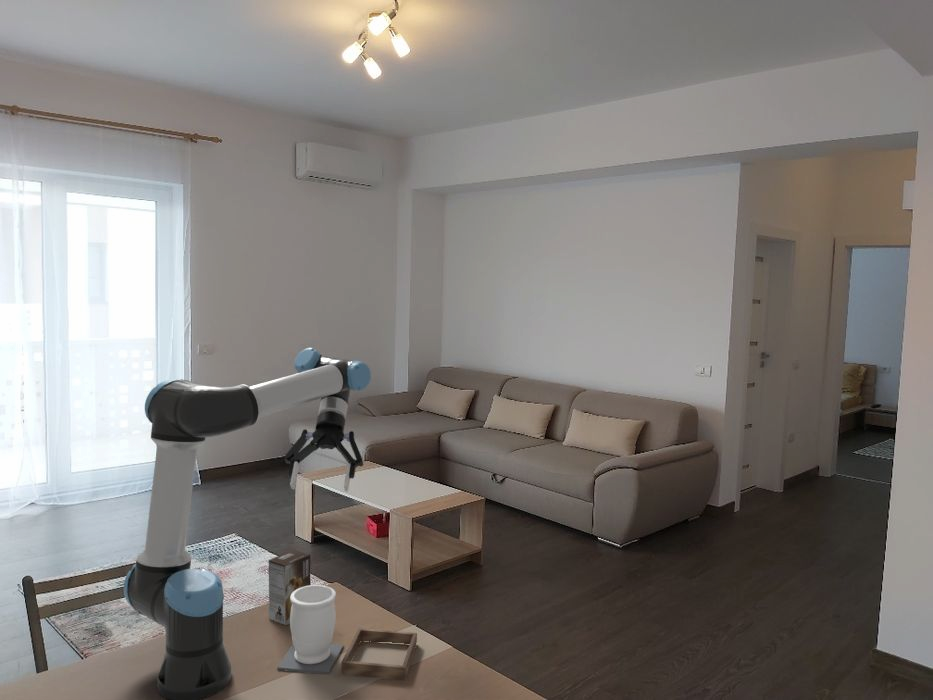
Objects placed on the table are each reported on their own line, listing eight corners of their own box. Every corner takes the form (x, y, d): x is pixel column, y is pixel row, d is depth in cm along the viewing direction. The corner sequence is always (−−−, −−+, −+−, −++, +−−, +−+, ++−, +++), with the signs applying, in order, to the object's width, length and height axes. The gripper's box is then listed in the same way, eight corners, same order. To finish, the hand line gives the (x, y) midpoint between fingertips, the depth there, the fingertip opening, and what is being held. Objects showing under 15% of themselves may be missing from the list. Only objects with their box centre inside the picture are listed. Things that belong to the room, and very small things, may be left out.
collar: (341, 675, 158) (341, 662, 158) (358, 639, 174) (358, 628, 174) (405, 680, 157) (405, 667, 157) (416, 644, 173) (416, 633, 172)
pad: (277, 669, 160) (277, 667, 160) (295, 642, 172) (295, 640, 171) (329, 674, 159) (329, 671, 158) (343, 646, 170) (343, 644, 170)
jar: (324, 670, 159) (325, 607, 157) (281, 664, 161) (282, 601, 159) (341, 646, 169) (342, 587, 168) (301, 641, 171) (302, 581, 170)
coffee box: (293, 605, 191) (294, 548, 189) (311, 612, 187) (311, 554, 186) (267, 619, 183) (268, 559, 181) (285, 626, 179) (285, 565, 178)
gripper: (378, 426, 194) (369, 496, 181) (288, 423, 195) (272, 493, 181) (376, 411, 189) (366, 482, 175) (283, 408, 189) (266, 478, 175)
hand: (319, 487), depth 178 cm, fingers open, 13 cm apart
